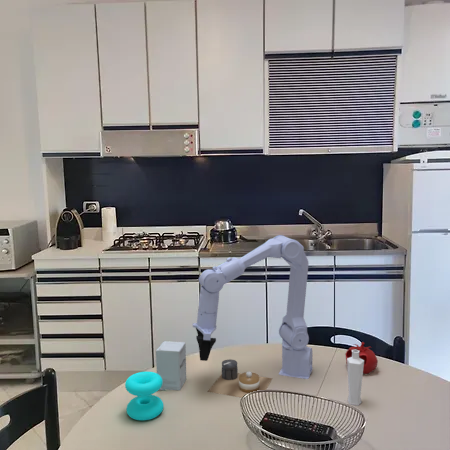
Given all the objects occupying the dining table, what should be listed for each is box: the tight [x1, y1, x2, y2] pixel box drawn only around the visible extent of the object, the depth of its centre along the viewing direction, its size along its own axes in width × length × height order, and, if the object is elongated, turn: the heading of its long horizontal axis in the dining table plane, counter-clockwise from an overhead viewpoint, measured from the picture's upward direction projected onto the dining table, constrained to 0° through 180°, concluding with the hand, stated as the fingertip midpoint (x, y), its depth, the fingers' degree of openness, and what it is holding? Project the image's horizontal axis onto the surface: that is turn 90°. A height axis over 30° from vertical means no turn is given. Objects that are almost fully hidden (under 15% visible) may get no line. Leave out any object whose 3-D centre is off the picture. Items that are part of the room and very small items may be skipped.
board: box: [207, 372, 273, 399], centre depth 140 cm, size 16×14×1 cm
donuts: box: [124, 371, 164, 421], centre depth 127 cm, size 10×10×10 cm
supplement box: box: [155, 340, 187, 391], centre depth 141 cm, size 7×7×13 cm
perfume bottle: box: [346, 349, 364, 406], centre depth 130 cm, size 5×4×15 cm
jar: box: [239, 371, 260, 393], centre depth 138 cm, size 6×6×5 cm
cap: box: [221, 358, 239, 380], centre depth 146 cm, size 5×5×5 cm
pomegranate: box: [344, 341, 379, 375], centre depth 149 cm, size 10×10×9 cm
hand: (203, 354), depth 139 cm, fingers open, 7 cm apart
